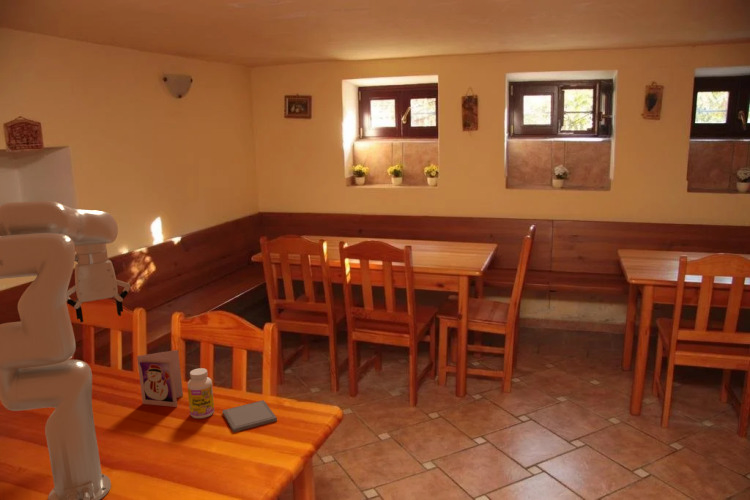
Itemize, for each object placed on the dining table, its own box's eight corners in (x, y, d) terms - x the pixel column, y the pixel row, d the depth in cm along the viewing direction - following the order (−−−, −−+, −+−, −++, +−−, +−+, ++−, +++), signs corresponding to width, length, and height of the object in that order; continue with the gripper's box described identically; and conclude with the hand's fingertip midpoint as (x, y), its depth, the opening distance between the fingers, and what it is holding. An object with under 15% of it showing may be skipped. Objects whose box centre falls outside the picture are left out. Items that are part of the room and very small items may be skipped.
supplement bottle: (189, 421, 165) (185, 378, 162) (190, 410, 171) (186, 368, 168) (214, 417, 166) (210, 374, 164) (214, 406, 173) (210, 365, 170)
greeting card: (141, 405, 175) (135, 357, 172) (155, 393, 182) (150, 347, 179) (175, 408, 172) (170, 359, 169) (189, 396, 179) (184, 350, 176)
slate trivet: (276, 420, 163) (276, 417, 163) (233, 432, 158) (233, 428, 158) (263, 403, 174) (263, 399, 173) (222, 413, 168) (222, 410, 168)
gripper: (57, 265, 154) (66, 327, 158) (128, 256, 163) (135, 315, 166) (56, 259, 161) (65, 320, 164) (124, 251, 169) (131, 308, 173)
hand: (100, 317), depth 165 cm, fingers open, 9 cm apart
